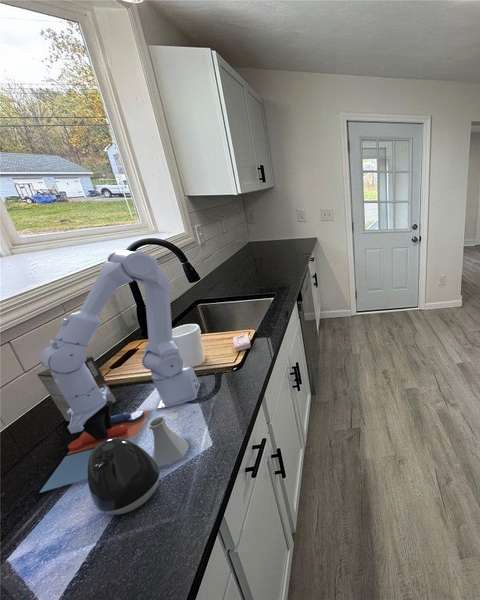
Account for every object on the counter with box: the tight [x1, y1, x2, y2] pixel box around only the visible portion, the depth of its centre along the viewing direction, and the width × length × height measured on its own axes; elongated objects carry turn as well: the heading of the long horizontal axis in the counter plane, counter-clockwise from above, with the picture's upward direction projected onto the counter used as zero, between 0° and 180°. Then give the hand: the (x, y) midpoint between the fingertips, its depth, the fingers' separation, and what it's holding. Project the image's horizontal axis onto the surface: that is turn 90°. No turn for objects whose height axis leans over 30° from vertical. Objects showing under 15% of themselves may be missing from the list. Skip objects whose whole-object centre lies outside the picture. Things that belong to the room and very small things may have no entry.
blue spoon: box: [111, 410, 144, 425], centre depth 84 cm, size 12×4×2 cm, turn 112°
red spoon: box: [67, 425, 127, 451], centre depth 78 cm, size 12×4×2 cm, turn 112°
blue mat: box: [38, 436, 137, 494], centre depth 72 cm, size 14×10×1 cm
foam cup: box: [172, 323, 206, 368], centre depth 108 cm, size 10×9×13 cm
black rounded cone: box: [87, 437, 161, 515], centre depth 61 cm, size 10×10×15 cm
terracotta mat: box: [66, 410, 150, 456], centre depth 82 cm, size 14×10×1 cm
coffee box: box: [36, 355, 117, 422], centre depth 86 cm, size 9×6×16 cm
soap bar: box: [232, 333, 252, 352], centre depth 120 cm, size 5×9×2 cm, turn 29°
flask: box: [147, 416, 190, 468], centre depth 72 cm, size 7×7×10 cm
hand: (104, 434), depth 79 cm, fingers closed on red spoon, 2 cm apart
